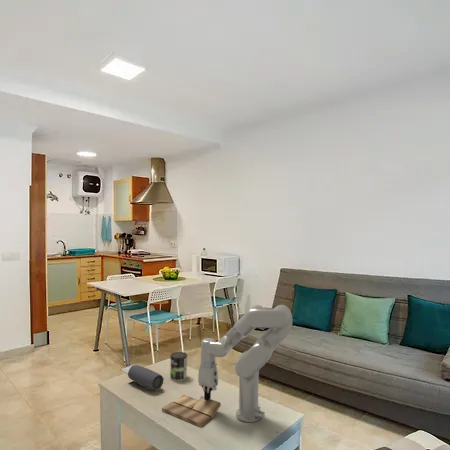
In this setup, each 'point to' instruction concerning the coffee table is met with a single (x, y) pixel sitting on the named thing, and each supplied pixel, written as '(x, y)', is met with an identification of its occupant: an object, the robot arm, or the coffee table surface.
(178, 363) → the coffee can
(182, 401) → the plank far
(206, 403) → the plank near
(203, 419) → the floor plank
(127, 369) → the baseboard molding
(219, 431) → the coffee table surface
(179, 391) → the coffee table surface
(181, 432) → the coffee table surface
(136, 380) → the bluetooth speaker
